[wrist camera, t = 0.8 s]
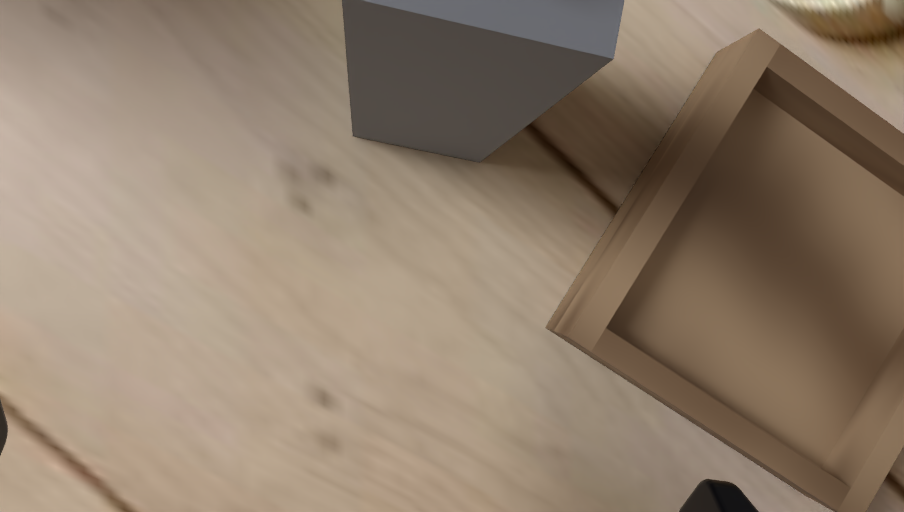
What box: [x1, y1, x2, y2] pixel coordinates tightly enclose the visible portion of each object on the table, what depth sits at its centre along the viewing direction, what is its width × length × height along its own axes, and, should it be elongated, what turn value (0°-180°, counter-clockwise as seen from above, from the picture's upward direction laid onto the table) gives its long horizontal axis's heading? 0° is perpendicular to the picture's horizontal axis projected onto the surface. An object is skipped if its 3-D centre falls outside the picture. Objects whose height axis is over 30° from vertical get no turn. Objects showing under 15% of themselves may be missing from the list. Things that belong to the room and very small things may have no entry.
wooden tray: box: [545, 29, 904, 512], centre depth 22 cm, size 11×11×2 cm
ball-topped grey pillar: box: [342, 0, 624, 162], centre depth 16 cm, size 4×4×13 cm
